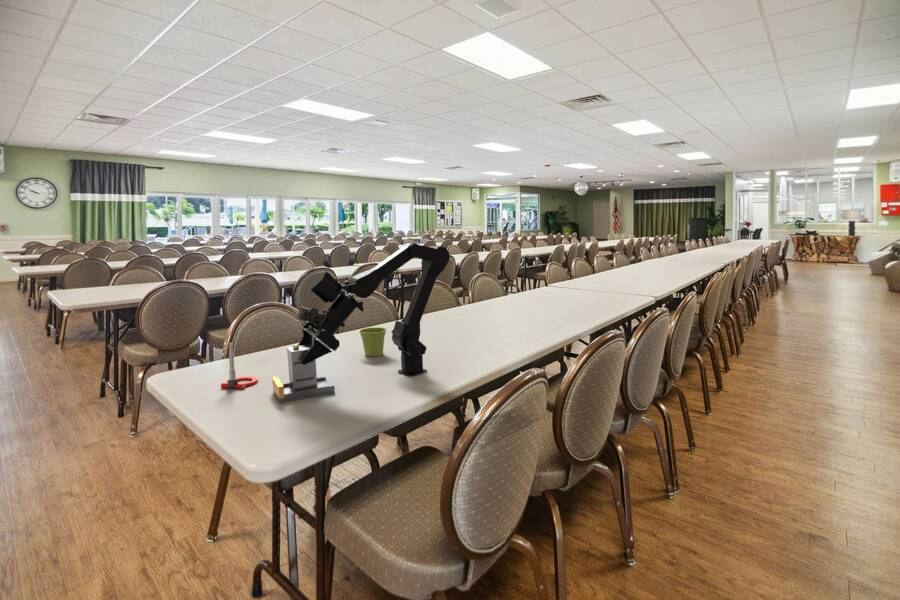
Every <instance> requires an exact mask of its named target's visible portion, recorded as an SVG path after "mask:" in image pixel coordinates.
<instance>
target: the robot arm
mask: <svg viewBox="0 0 900 600" xmlns="http://www.w3.org/2000/svg"><path fill="white" fill-rule="evenodd" d="M414 258H415V259H419V260H421V272H420V273H421V274H420V277H419V279H418V282H417V285H416V287H415V289H414V292H413V295H412V298H411V300H410V303H409V305H408V308H407V310H406V313H405V316H404V317H403V318H402V319H401V321H400V320H396V321H395V323H394V327H393V329H392V330H391V331H390V333H391V334H392V335H391V340H392V342H393V344H394V345H396V346H397V348H398V351H401V352H400V353H401V354H400V355H401V356H400V360H401V361H400V363H401V367H400V368H401V369H399V370H397V373H399V374H403V375H405V376H408V377H414V376H417V375H421V374H424V373H427V372H428V369H425V368H424V360H423V355H425V354H426V351H427V346H426V345H425V344H423V343H422V342H421V340H420V337H421V321H422V319H423V318H422V317H423V316H424V313H425V311H426V307H427V305H428V302H429V299H430V297H431V294H432V291H433V288H434V286H435V283H436V281H437V279H438V277H439V276H440V275H441V274H442V272H444V270H445V268H446V267H447V266H448V264H449V262H450V260H451V254H450V251H449V249H448V248H447V247H445V246H440V245H439V246H438V245H431V246H426V245H421V244H417V243H415V242H407V243H405V244H404V245H403V246H402V247H401V248H399V249H398V250H396V251H395V252H394V253H392V254H390V255H389V256H388V257H386V258H385V259H384V260H382V261H381V262H380V263H378V264H377V265H375V266H374V267H373V268H370V269H367V270H365V271H362V272H360V273H358V274H355V275H353V276H352V277H350V278H349V279H348V280H347V281H342V282H339V281H338V280H337V279H335V278H334V277H333V275H332V274H331V273H330V272H329V271H326V270H325V271H324V272H323V273H322V274H320V275H319V276H318V277H317V278H314V280H312V282H311V283H310V284H309V286H308V291H309V292H310V293H312V294H313V295H314V296H315V297H316V298H317V299H319V300H320V301H321V302H322V303H324V304H327V303H330V305H329V307H328V308H326V309H325V308H324V309H321V311H320V310H319V309H318V308H315V307H313V306H311V307H310V308H308V307H306V306H305V307H304V306H303V305H300V307H299V309H298V313H297V315H296V318H298V320H299V321H303V322H302V323H301V327H300V330H301V338H300V340H299V342H298V345H299V346H302V345H309V344H310V345H311V347H310V348H309V350H308V352H307V353H306V355H305V356H304V358H303V360H302V361H301V363H302V364H303V365H306V364H307V363H309V362H311V361H313V360H315V359H316V360H317V359H320V358H322V357H324V356H325V355H328V354H330V353H333V352H336V351H337V349H339V348H340V340H339V339H337V337H336V335H335V334H336V333H337V331H338V330H339V329H340V328H344V327H345V325H346V324H345V322H346V321H347V320H348V318H349V317H350V316H351V315H352V314H353V312H354V311H355V310H357V311H359V312H364V311H365V309H364V301H361V300H357V299H356V298H357V297H358V298H360V299H366V298H369V297H370V296H371V295H372V294H373V293H374V292H375V291H376V290H377V289H378V288H379V287H380V285H381V283H382V282H383V281H384V280H385V279H387V278H388V277H389V276H390V275H392V274H394V273H395V272H396V271H398V270H399V269H400V268H402V267H403V266H405V264H407V263H408V262H409V261H411V260H412V259H414ZM344 292H346V293H349V294H350V295H346V294H345V293H344ZM355 297H356V298H355Z"/></svg>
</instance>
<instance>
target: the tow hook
mask: <svg viewBox="0 0 900 600" xmlns="http://www.w3.org/2000/svg"><path fill="white" fill-rule="evenodd" d="M228 344H229V345H228V348H229V350H228V360H229V361H228V363H229V373H228V374H229V379H227V380H226V381H225V382H221V384H220V388H221V389H229V388H233V390H236V389H235V388H238V389H239V390H243V389H245V388H246V387H250V386H253V385H255V383H256V384H257V383H259V378H257V377H256V376H239V377H236V369H235V354H234V349H233V342H229V343H228ZM240 380H243V381H247V382H241V381H240ZM250 380H252V381H250ZM239 382H241V383H239ZM238 389H237V390H238Z"/></svg>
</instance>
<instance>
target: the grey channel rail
mask: <svg viewBox="0 0 900 600" xmlns="http://www.w3.org/2000/svg"><path fill="white" fill-rule="evenodd" d="M271 379H272V392H273V394H274V396H275V397H276V399H277V401H278V403H279V404H283V403H287V402H293V401H298V400H303V399H309V398H313V397H319V396H324V395H329V394H335V392H336V391H335V390H336V388H335V384H330V382H329V381H328V380H327V376H325V375H324V376H319V377H318V376H317V388H312V389H306V390H301V391H296V392H293V391H292V390H291V388H290V382H289V381H288V382H284V383H282V382H281V381H280V379H279V377H278V376H273V377H272V376H271Z"/></svg>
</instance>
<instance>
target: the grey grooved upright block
mask: <svg viewBox="0 0 900 600" xmlns="http://www.w3.org/2000/svg"><path fill="white" fill-rule="evenodd" d="M298 344H299V343H298ZM298 344H297V343H295V344H292V346H289V347H286V354H287V355H286V356H287V365H288V366H287V367H288V377H289V378H288V379H289V381H288V382H290V388H291V390H292V391H293V392H296V391H301V390H306V389H312V388H317V377H318V374H317V363H316V360H317V359H315V360H313V361H311V362H309V363H307V364H306V365H303V364H302V363H301V361H302V360H303V358H304V356H305V355H306V353H307V352H308V350H309V348H310V347H311V345H310V344H309V345H302V346H299V345H298Z"/></svg>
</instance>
